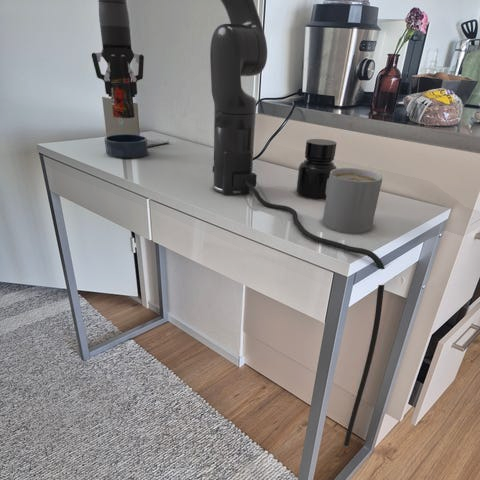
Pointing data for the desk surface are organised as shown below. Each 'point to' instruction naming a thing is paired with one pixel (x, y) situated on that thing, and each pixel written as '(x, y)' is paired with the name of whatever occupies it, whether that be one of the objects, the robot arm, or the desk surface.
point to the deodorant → (120, 87)
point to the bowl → (126, 146)
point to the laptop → (125, 124)
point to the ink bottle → (316, 168)
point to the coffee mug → (351, 200)
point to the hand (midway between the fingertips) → (122, 96)
